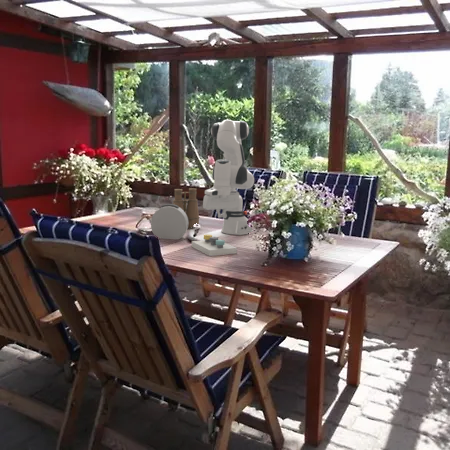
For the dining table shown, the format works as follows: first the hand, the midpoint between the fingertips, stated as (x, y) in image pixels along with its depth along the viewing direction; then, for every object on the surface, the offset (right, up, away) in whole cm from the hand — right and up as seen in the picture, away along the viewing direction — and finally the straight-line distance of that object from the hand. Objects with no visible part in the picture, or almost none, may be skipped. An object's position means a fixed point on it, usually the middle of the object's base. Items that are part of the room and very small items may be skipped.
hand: (221, 217), depth 276 cm
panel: (-4, -17, +10) cm, 20 cm away
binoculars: (-24, -6, +67) cm, 72 cm away
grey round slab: (-31, -11, +36) cm, 49 cm away
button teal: (-1, -17, +3) cm, 17 cm away
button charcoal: (-4, -16, +9) cm, 19 cm away
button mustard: (-7, -14, +15) cm, 22 cm away
